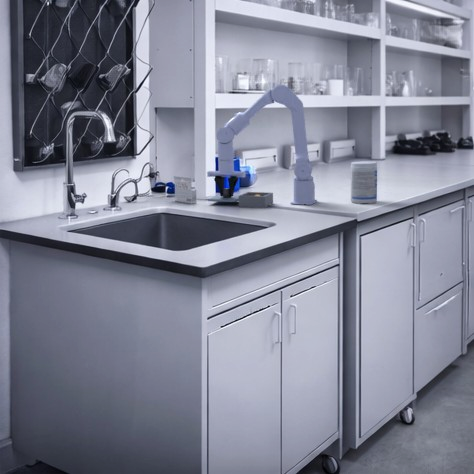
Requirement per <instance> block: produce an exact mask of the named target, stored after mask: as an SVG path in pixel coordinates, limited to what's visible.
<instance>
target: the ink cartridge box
mask: <svg viewBox="0 0 474 474" xmlns="http://www.w3.org/2000/svg"><path fill="white" fill-rule="evenodd" d="M173 180H174V198H175V199H174V201H175V202H179V203H180V202H181V203H186V204H191V205H192V204H197V189H192V178H191V177H183V176H176V175H175V176H173ZM181 180H182V181H181ZM183 181H184V182H183Z"/></svg>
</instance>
